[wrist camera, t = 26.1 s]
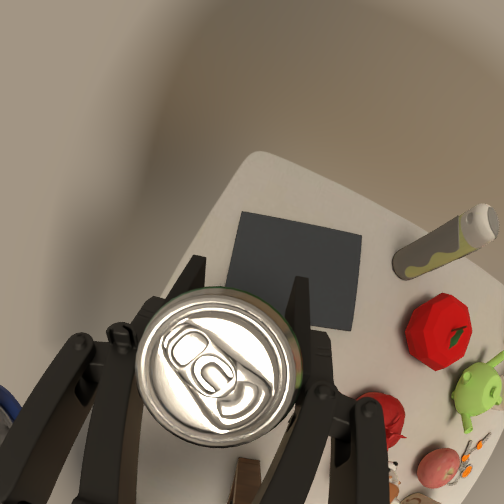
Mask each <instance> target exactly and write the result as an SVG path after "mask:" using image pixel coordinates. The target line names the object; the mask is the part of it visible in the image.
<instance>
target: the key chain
mask: <svg viewBox="0 0 504 504" xmlns="http://www.w3.org/2000/svg"><path fill="white" fill-rule="evenodd" d="M490 435H491V432H490V433H489V434H488V435H487V436H486V438H485V439H484V440H481V441H480V442H479V443H478V445H477V447H476V448H474V449H473V450H472V451H474V450H475V449H480V448H481V447H482V445H483V444H484V442H485V441H486V440H487V439H488V437H489V436H490ZM471 444H472V440H471V441H470V442H469V445H468V448H467V451H466V452H465V454H464V455H463V457H462V461H463V462H462V464H461V465H460V467H459V468H458V470H459V471H461V470H462V469H463V471H461V472H462V473H461V475H460V476H461V478H465V477H467V476H468V475H469V474H470V472H471V471H472V465H468V466H467V467H466V468H465V465H466V464H467V463H468V462H469V458H468V457H469V455H470V454H471V453H472V451H471V452H470V453H469V450H470V447H471ZM467 459H468V462H467V463H466V460H467ZM463 463H465V464H463ZM462 465H463V467H461V466H462ZM460 468H462V469H460ZM457 472H458V471H457ZM459 478H460V477H459ZM459 478H458V480H459ZM458 480H457V481H456V482H455V483H454V484H449V482H450V481H449V482H448V483H447V485H449V486H452V485H455V484H456V483H457V482H458Z"/></svg>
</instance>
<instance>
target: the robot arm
mask: <svg viewBox="0 0 504 504" xmlns="http://www.w3.org/2000/svg"><path fill="white" fill-rule="evenodd" d="M205 268H206V257H203V256H198V255H193V256H192V258H191V259H190V261H189V262H188V264H187V265H186V267H185V269H184V270H183V272H182V273H181V275H180V276H179V278H178V280H177V281H176V283H175V284H174V286H173V288H172V289H171V291H170V292H169V294H168V296H167V297H166V299H163V298H159V297H155V296H153V297H151V298H150V299H148V300H147V301H146V302H145V303H144V305H143V306H142V308H141V310H140V311H139V312H138V314H137V315H136V316H135V318H134V320H133V321H132V322H131V324H129V323H125V322H118V323H114V324H112V325H111V326H109V327H108V329H107V330H106V334H107V337H108V341H109V342H97V341H93V339H92V337H91V336H90V335H89V334H87V333H82V332H81V333H76V334H74V335H72V336H71V337H70V338H69V339H68V340H67V342H66V343H65V344H64V346H63V347H62V349H61V350H60V351H59V353H58V354H57V356H56V357H55V358H54V360H53V361H52V363H51V364H50V366H49V367H48V368H47V370H46V371H45V373H44V374H43V376H42V377H41V379H40V380H39V382H38V383H37V385H36V386H35V388H34V389H33V391H32V393H31V394H30V396H29V397H28V399H27V401H26V402H25V404H24V405H23V407H22V409H21V410H20V412H19V414H18V415H17V417H16V419H15V421H14V419H13V418H12V416H11V415H10V413H9V412H8V411H7V409H6V408H5V407H4V406H3V405H2V404H0V504H46V503H47V501H48V499H49V497H50V495H51V493H52V490H53V488H54V486H55V483H56V481H57V479H58V476H59V474H60V472H61V470H62V467H63V465H64V463H65V461H66V458H67V456H68V454H69V452H70V450H71V448H72V446H73V444H74V442H75V439H76V438H77V436H78V433H79V431H80V429H81V427H82V425H83V424H84V421H85V419H86V418H87V416H88V414H89V412H90V410H91V408H92V406H93V410H92V414H91V419H90V423H89V428H88V434H87V439H86V445H85V451H84V457H83V463H82V471H81V479H80V487H79V494H78V496H77V497H76V498H75V499H73V502H72V504H136V487H137V468H138V453H139V442H140V431H141V422H142V413H143V405H144V402H143V400H142V398H141V395H140V393H139V390H138V386H137V382H136V375H135V361H136V353H137V349H138V346H139V343H140V340H141V337H142V335H143V333H144V330H145V328H146V326H147V325H148V323H149V322H150V320H151V319H152V317H153V316H154V315H155V314H156V312H157V311H158V310H159V309H160V308H161V307H162V306H164V305H165V304H166V303H167V302H169V301H170V300H171V299H173V298H175V297H177V296H179V295H180V294H182V293H185V292H188V291H191V290H193V289H198V288H203V287H204V284H205ZM285 320H286V321H287V322H288V323H289V325H290V327H291V328H292V330H293V332H294V333H295V335H296V338H297V340H298V343H299V345H300V349H301V354H302V359H303V377H302V385H301V388H300V391H299V395H298V398H297V400H296V402H295V403H294V404H295V412H294V413H293V415H292V416H291V418H290V420H289V421H288V423H289V424H288V427H287V429H286V432H285V434H284V436H283V439H282V441H281V443H280V445H279V448H278V450H277V452H276V454H275V457H274V459H273V461H272V463H271V465H270V467H269V469H268V472H267V474H266V476H265V478H264V480H263V482H262V484H261V486H260V488H259V490H258V492H257V494H256V496H255V498H254V499H253V501H252V503H251V504H304V503H305V500H306V498H307V495H308V493H309V490H310V487H311V485H312V482H313V479H314V477H315V474H316V471H317V468H318V465H319V463H320V460H321V457H322V454H323V451H324V447H325V444H326V441H327V438H328V436H331V463H330V484H329V499H328V504H390V488H389V467H388V453H387V441H386V431H385V423H384V414H383V409H382V406H381V404H380V403H379V402H378V401H377V400H376V399H374V398H372V397H362V398H360V399H359V400H358V401H357V400H355V399H352V398H349V397H347V396H345V395H343V394H341V393H340V392H339V391H338V389H337V387H336V386H335V385H334V381H333V365H332V357H331V356H332V352H331V340H330V338H329V337H328V335H327V333H326V332H322V331H316V330H311V329H310V295H309V278H306V277H301V276H295V279H294V283H293V286H292V290H291V293H290V297H289V300H288V304H287V307H286V310H285ZM93 404H94V405H93ZM293 406H294V405H293Z"/></svg>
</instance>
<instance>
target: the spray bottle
mask: <svg viewBox="0 0 504 504" xmlns="http://www.w3.org/2000/svg"><path fill="white" fill-rule="evenodd" d="M498 232H499V220H498V217H497V214H496V212H495V210H494V209H493V207H491V206H489V205H487V204H478V205H476V206H474V207H473V208H471V209H470V210H468V211H466V212H465V213H463V214H462V215H460V216H457V217H455V218H453V219H452V220H450V221H448V222H447V223H445V224H444V225H442V226H440V227H439V228H437V229H435V230H434V231H432V232H430V233H429V234H427V235H425V236H423V237H422V238H420V239H418V240H417V241H415V242H413V243H411V244H410V245H408V246H406V247H404V248H402V249H401V250H399V251H398V252H397V253H396V254H395V256H394V259H393V267H394V270H395V272H396V274H397V275H398V276H399V277H400V278H402V279H404V280H410V279H413V278H416V277H418V276H420V275H422V274H424V273H427V272H430V271H432V270H435V269H437V268H439V267H442V266H444V265H446V264H448V263H450V262H452V261H454V260H456V259H460V258H462V257H464V256H466V255H468V254H470V253H472V252H475V251H477V250H478V249H480V248H481V247H483V246H485V245H486V244H488V243H489V242H491V241H492V240H494V239H496V237H497V235H498Z"/></svg>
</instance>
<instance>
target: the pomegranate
mask: <svg viewBox="0 0 504 504" xmlns="http://www.w3.org/2000/svg"><path fill="white" fill-rule="evenodd" d="M362 397H372V398H374V399H376V400H377V401H378V402H379V403H380V404H381V406H382V409H383V414H384V423H385V431H386V441H387V452H388V448H391V447H393V446H394V445H395V444H396V443H397V442H398V440H399V439H400V438H407V437H404V436H403V435H401V431H402V427H403V424H404V418H405V411H404V408H403V406H402V404H401V403H400V402H399V400H398V399H397V398H394V397H393V396H391V395H386V394H384V393H376V392H369V393H365V394H363V395H361V396H360V397H359V398H357V399H356V400H357V401H358V400H359V399H360V398H362Z"/></svg>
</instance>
